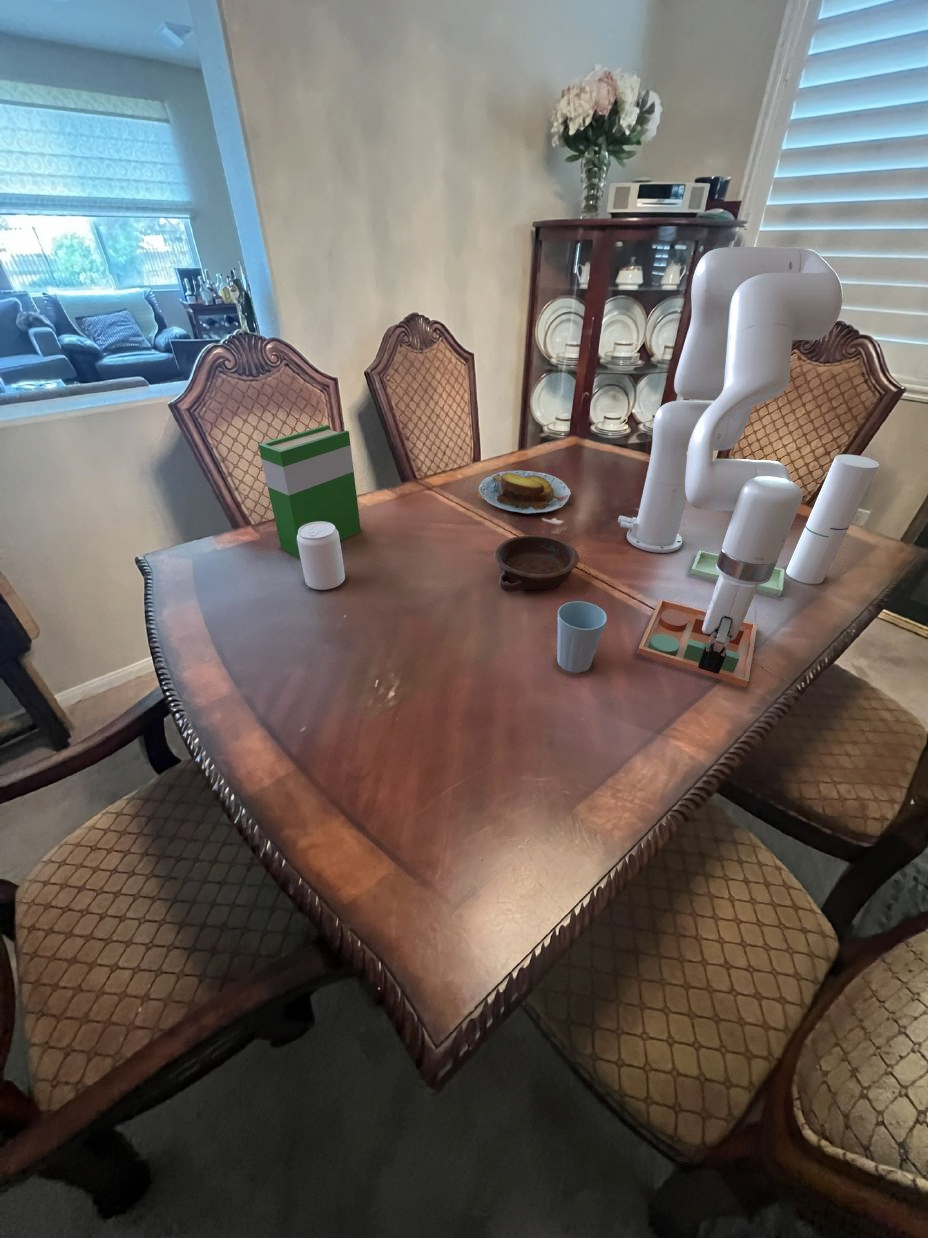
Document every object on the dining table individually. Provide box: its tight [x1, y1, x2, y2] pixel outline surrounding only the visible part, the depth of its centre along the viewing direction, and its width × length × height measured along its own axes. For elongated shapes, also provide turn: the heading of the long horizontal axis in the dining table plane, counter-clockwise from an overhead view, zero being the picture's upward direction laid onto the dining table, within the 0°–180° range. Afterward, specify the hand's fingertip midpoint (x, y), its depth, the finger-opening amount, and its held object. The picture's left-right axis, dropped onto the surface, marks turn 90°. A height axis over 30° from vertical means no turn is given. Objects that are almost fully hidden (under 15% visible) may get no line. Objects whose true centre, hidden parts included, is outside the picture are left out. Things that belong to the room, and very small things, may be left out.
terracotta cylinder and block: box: [659, 610, 745, 645], centre depth 95 cm, size 14×5×3 cm, turn 61°
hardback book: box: [257, 424, 362, 560], centre depth 118 cm, size 18×7×24 cm, turn 141°
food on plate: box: [477, 469, 572, 514], centre depth 143 cm, size 25×25×7 cm
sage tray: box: [689, 549, 786, 597], centre depth 112 cm, size 17×9×2 cm, turn 62°
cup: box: [556, 600, 608, 674], centre depth 86 cm, size 8×8×10 cm
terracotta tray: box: [636, 597, 758, 688], centre depth 94 cm, size 17×17×2 cm
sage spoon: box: [649, 634, 740, 673], centre depth 89 cm, size 14×5×3 cm, turn 61°
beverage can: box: [297, 521, 346, 591], centre depth 106 cm, size 8×8×12 cm
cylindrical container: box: [785, 453, 880, 585], centre depth 106 cm, size 7×7×25 cm
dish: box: [494, 534, 580, 592], centre depth 111 cm, size 18×22×5 cm
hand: (712, 653), depth 88 cm, fingers open, 9 cm apart
